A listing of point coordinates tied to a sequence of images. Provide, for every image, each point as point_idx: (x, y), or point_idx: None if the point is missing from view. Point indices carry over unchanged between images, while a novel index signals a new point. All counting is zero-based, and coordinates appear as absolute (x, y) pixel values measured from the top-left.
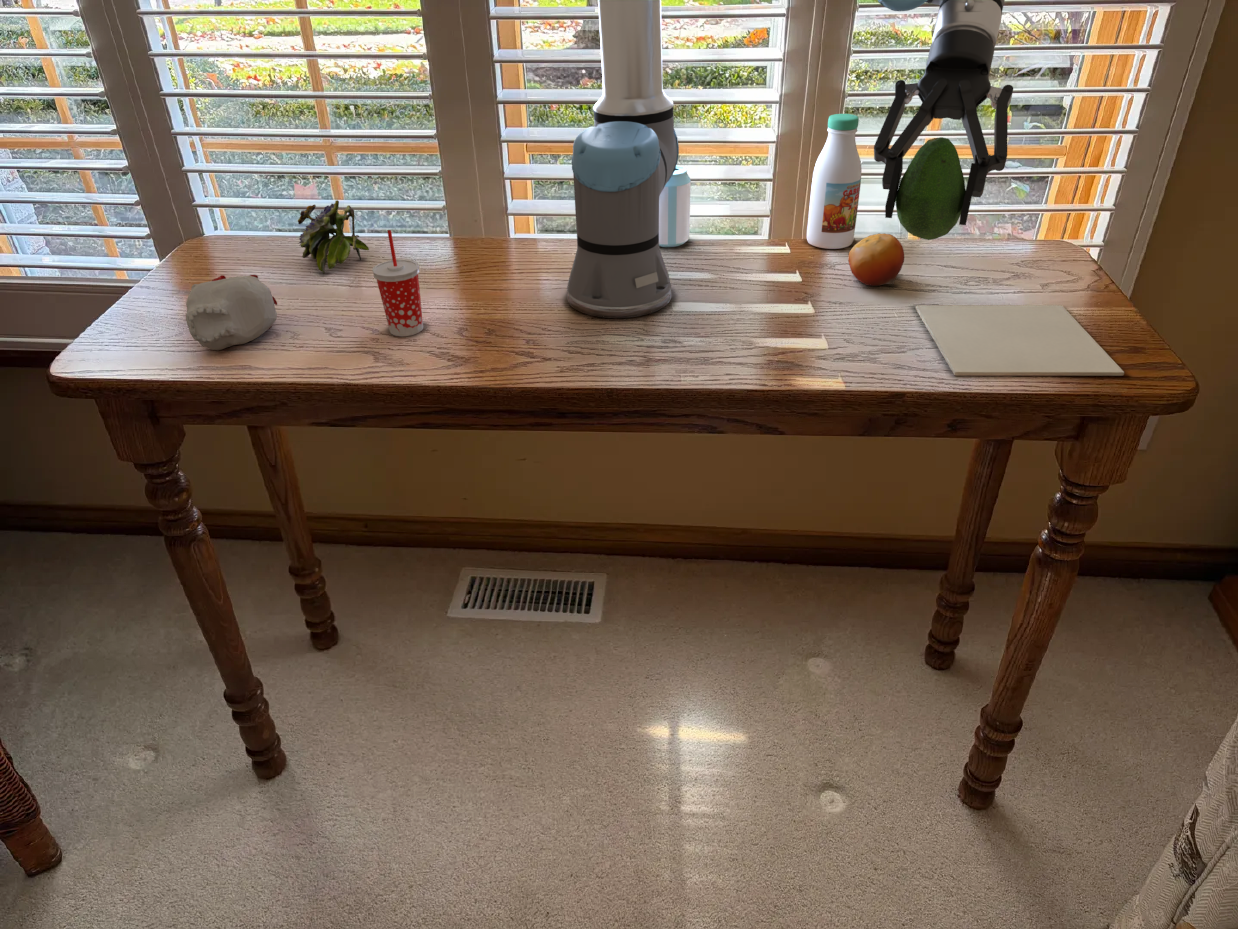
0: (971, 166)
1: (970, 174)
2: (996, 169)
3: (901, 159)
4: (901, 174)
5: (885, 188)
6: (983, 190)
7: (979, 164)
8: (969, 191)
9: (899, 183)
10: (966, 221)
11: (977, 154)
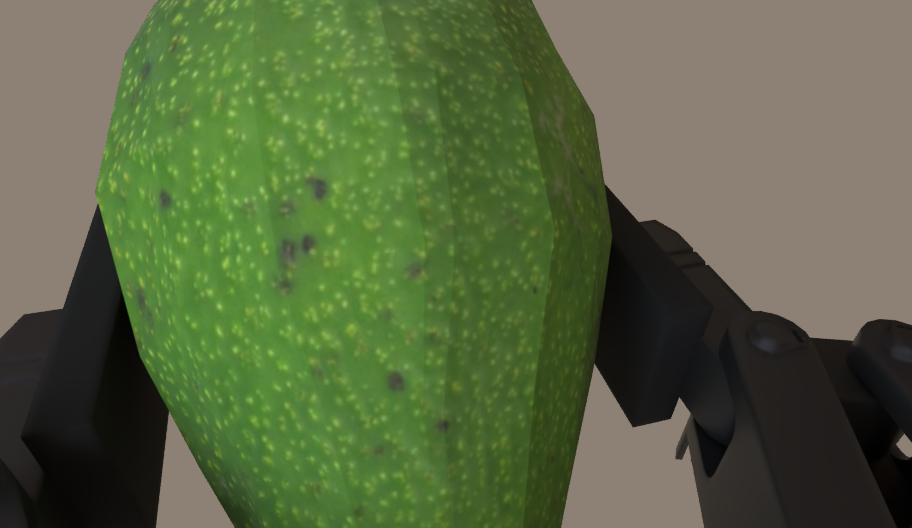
0: (625, 405)
1: (603, 364)
2: (840, 340)
3: (147, 526)
4: (103, 386)
5: (49, 319)
6: (688, 245)
7: (692, 405)
8: None
9: (115, 320)
10: None
11: (696, 476)
